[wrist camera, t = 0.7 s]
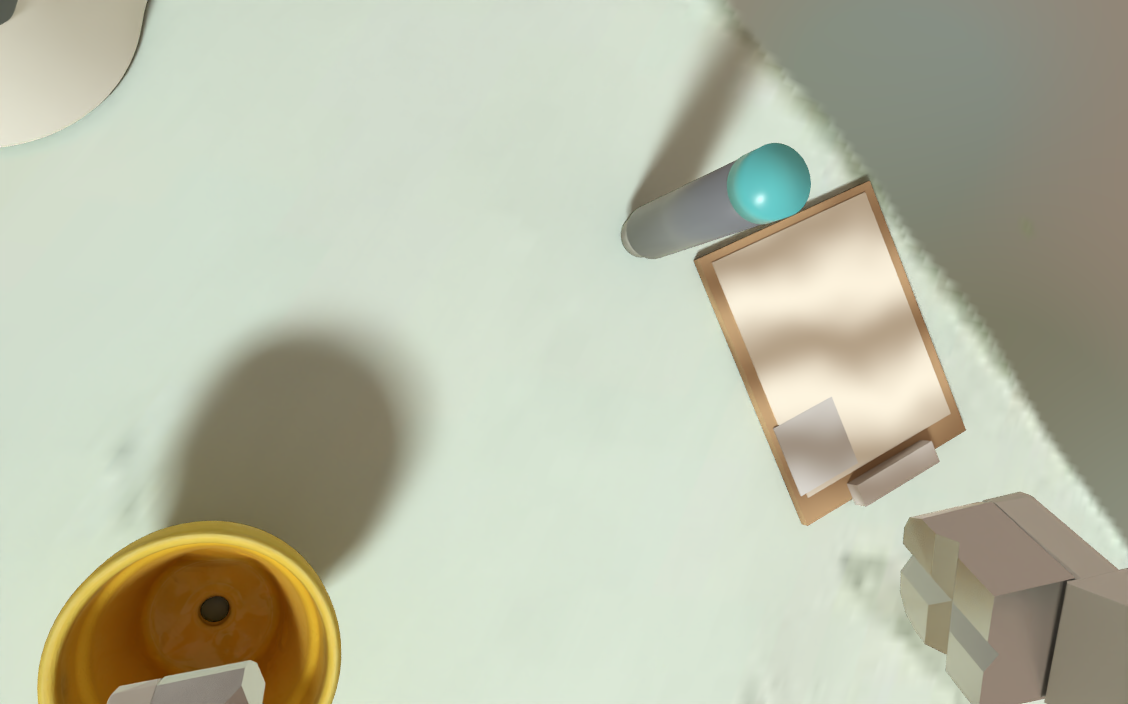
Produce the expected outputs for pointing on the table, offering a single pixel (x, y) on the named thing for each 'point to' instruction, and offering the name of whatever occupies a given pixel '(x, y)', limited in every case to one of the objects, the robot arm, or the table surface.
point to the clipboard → (833, 352)
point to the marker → (721, 203)
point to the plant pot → (195, 617)
